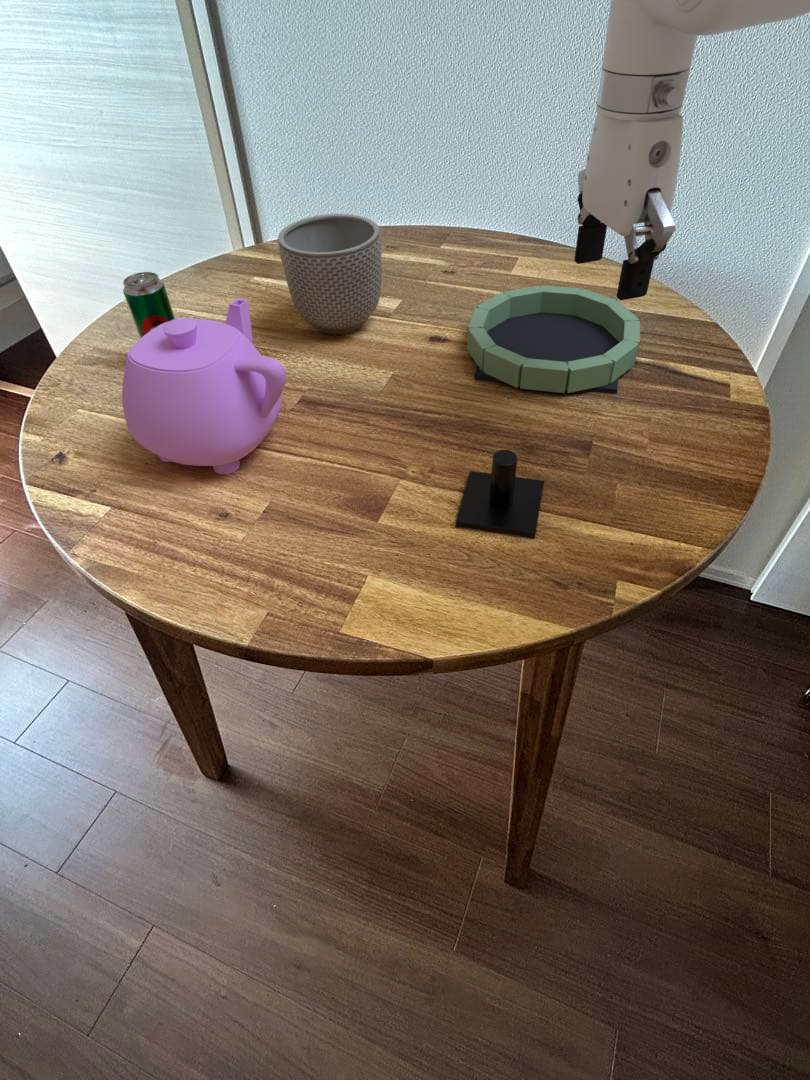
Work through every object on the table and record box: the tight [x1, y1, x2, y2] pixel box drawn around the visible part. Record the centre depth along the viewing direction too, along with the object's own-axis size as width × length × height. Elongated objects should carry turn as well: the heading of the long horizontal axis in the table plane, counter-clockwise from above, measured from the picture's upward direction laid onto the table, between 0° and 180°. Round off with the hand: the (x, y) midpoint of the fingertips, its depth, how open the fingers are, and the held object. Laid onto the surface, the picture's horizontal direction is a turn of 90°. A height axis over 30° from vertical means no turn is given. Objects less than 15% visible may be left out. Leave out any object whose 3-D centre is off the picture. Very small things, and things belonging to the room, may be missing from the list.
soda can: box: [122, 271, 176, 340], centre depth 86 cm, size 5×5×12 cm
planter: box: [277, 213, 383, 335], centre depth 91 cm, size 14×14×13 cm
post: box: [455, 449, 545, 539], centre depth 65 cm, size 8×8×6 cm
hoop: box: [466, 284, 641, 394], centre depth 87 cm, size 22×22×3 cm
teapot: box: [121, 297, 287, 475], centre depth 73 cm, size 20×20×15 cm
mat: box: [473, 313, 620, 394], centre depth 88 cm, size 18×18×1 cm
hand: (608, 278), depth 71 cm, fingers open, 9 cm apart
